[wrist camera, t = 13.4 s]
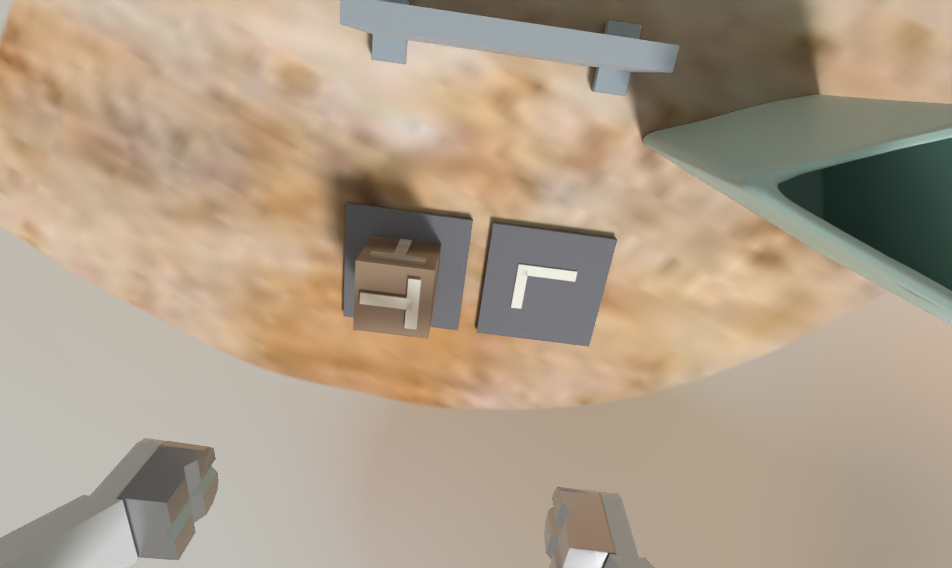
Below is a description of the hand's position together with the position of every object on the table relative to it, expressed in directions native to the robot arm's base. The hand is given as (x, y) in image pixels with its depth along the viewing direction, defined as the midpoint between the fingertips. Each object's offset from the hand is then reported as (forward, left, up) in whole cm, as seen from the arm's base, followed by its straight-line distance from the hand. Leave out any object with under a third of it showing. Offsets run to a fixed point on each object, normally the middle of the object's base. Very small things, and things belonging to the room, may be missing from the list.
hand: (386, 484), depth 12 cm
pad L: (+5, +8, -25) cm, 27 cm away
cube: (+5, -3, -25) cm, 25 cm away
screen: (-11, +2, -25) cm, 27 cm away
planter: (-7, +21, -25) cm, 34 cm away
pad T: (+5, -3, -25) cm, 26 cm away
